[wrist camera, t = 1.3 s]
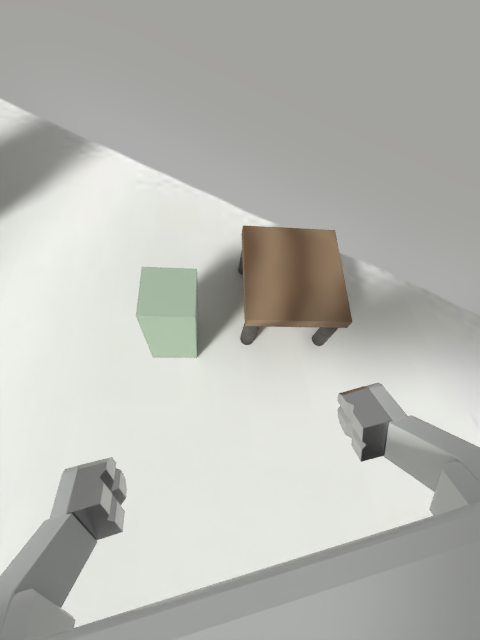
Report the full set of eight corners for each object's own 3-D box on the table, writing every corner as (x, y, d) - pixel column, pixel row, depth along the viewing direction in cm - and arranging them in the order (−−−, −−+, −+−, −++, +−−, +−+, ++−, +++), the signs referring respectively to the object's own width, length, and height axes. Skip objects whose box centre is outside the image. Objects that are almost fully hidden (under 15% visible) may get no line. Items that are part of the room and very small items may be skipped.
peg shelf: (239, 346, 40) (246, 319, 33) (236, 263, 45) (243, 225, 38) (327, 347, 41) (352, 322, 34) (315, 266, 46) (334, 230, 39)
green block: (153, 357, 38) (136, 316, 28) (156, 318, 40) (141, 266, 30) (196, 357, 38) (195, 317, 29) (197, 319, 41) (196, 268, 31)
